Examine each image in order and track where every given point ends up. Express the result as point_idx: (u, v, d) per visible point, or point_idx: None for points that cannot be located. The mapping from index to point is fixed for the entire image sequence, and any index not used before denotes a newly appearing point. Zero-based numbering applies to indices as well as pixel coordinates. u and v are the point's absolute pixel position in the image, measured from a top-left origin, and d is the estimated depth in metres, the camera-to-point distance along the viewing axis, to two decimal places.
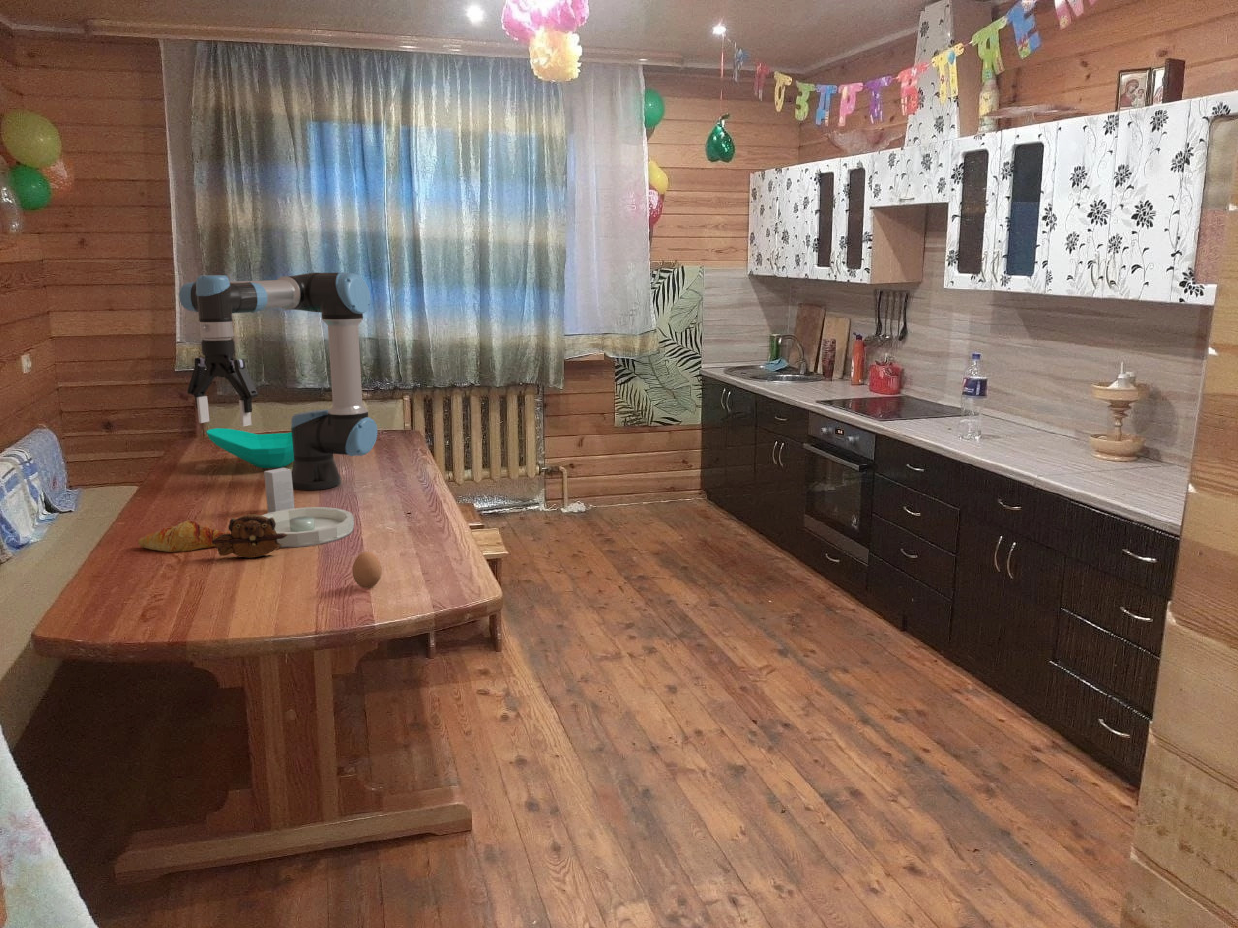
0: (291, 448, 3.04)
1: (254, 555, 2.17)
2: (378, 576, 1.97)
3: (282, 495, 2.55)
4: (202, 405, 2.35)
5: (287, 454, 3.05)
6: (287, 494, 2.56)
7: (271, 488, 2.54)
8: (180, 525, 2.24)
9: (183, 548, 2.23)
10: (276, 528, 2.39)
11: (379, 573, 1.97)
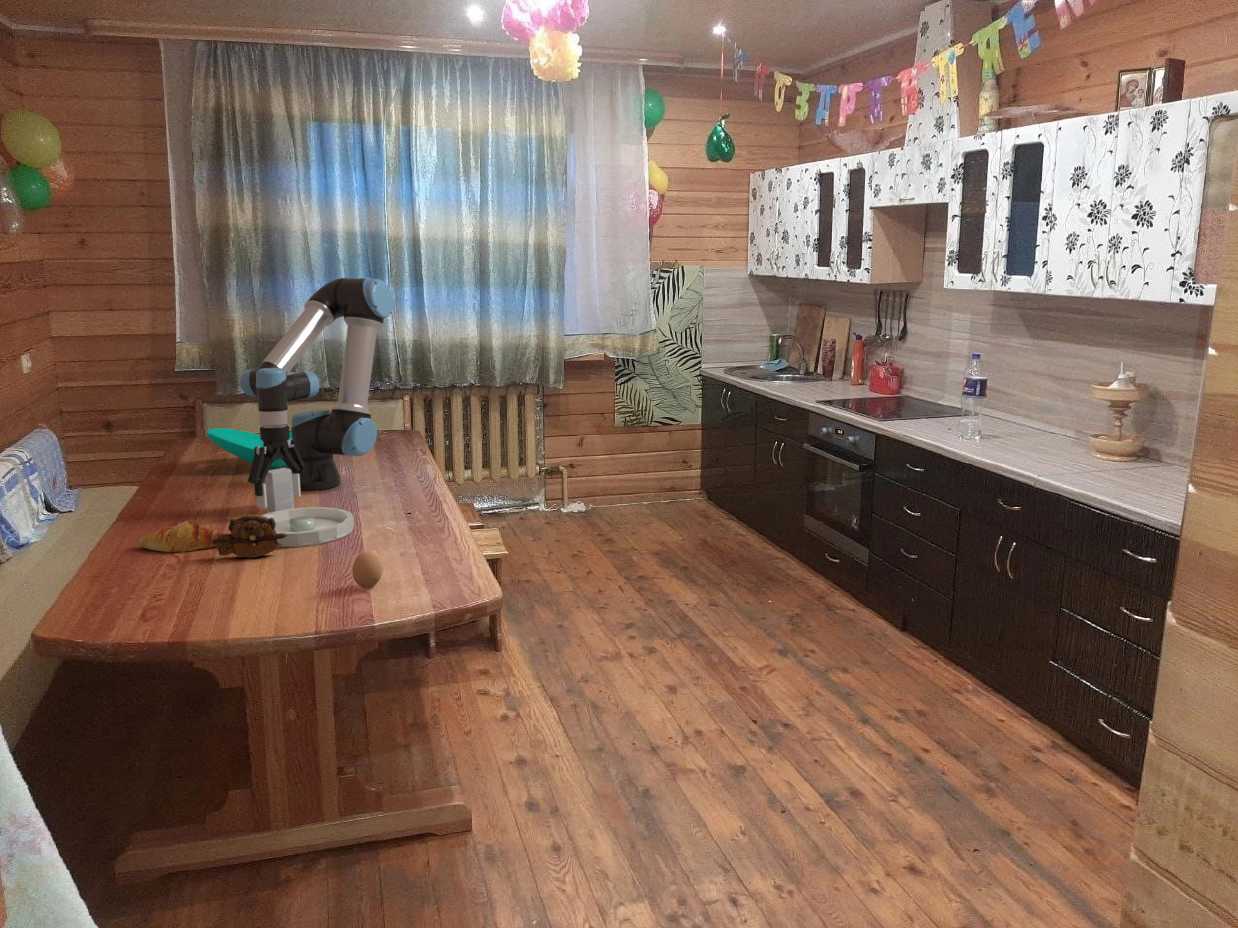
0: None
1: (254, 555, 2.17)
2: (378, 576, 1.97)
3: (282, 495, 2.55)
4: (292, 481, 2.62)
5: None
6: (287, 494, 2.56)
7: (271, 488, 2.54)
8: (179, 525, 2.23)
9: (182, 548, 2.22)
10: (276, 528, 2.39)
11: (379, 573, 1.97)
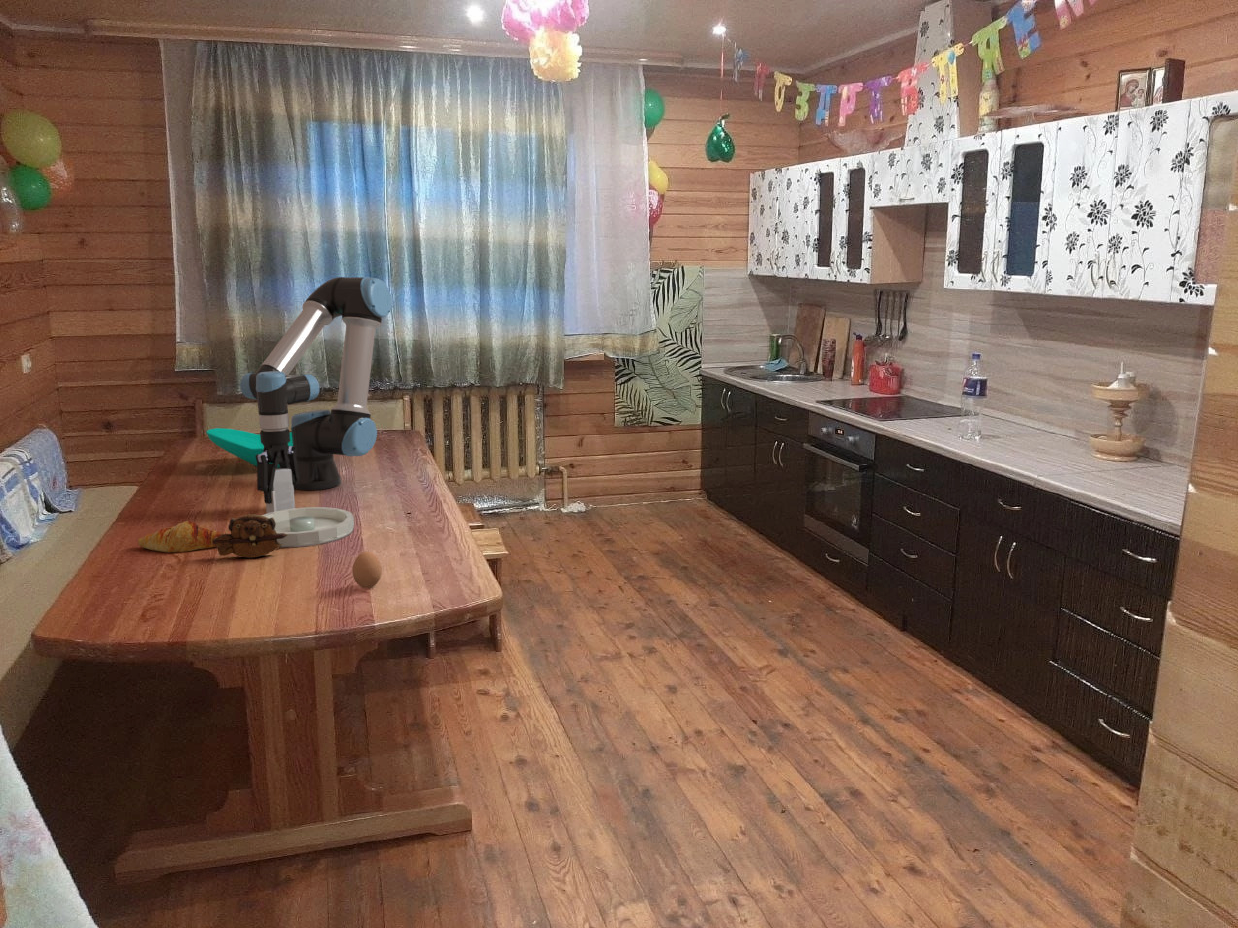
0: None
1: (254, 555, 2.17)
2: (378, 576, 1.97)
3: (282, 495, 2.55)
4: None
5: None
6: (287, 494, 2.56)
7: None
8: (178, 525, 2.23)
9: (181, 549, 2.22)
10: (276, 528, 2.39)
11: (379, 573, 1.97)
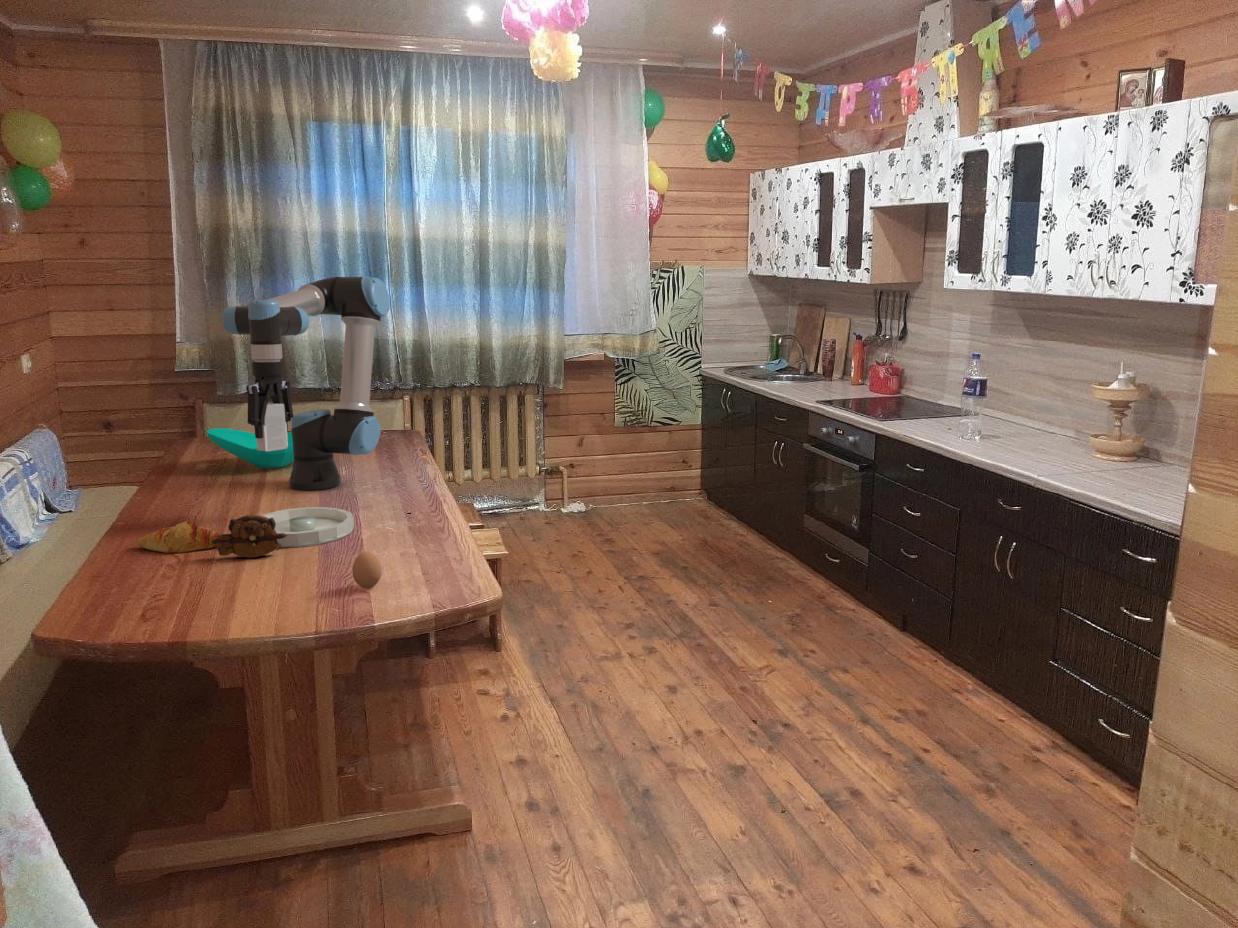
0: (291, 448, 3.04)
1: (254, 555, 2.17)
2: (378, 576, 1.97)
3: (273, 430, 2.43)
4: None
5: (287, 454, 3.05)
6: (279, 430, 2.44)
7: None
8: (177, 526, 2.23)
9: (179, 549, 2.22)
10: (276, 528, 2.39)
11: (379, 573, 1.97)
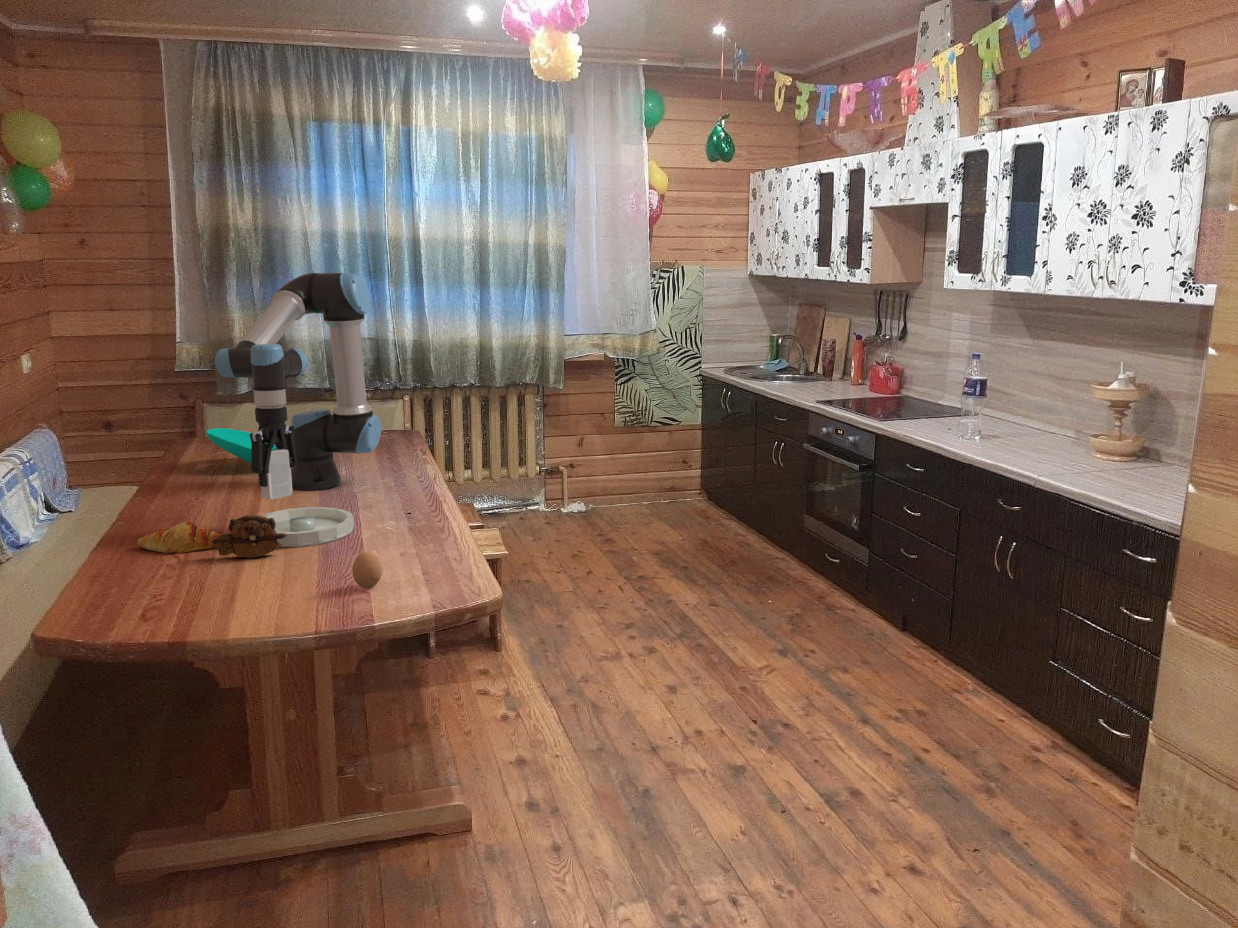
0: None
1: (254, 555, 2.17)
2: (378, 576, 1.97)
3: (278, 477, 2.36)
4: None
5: None
6: (284, 477, 2.37)
7: None
8: (177, 526, 2.23)
9: (178, 549, 2.22)
10: (276, 528, 2.39)
11: (379, 573, 1.97)
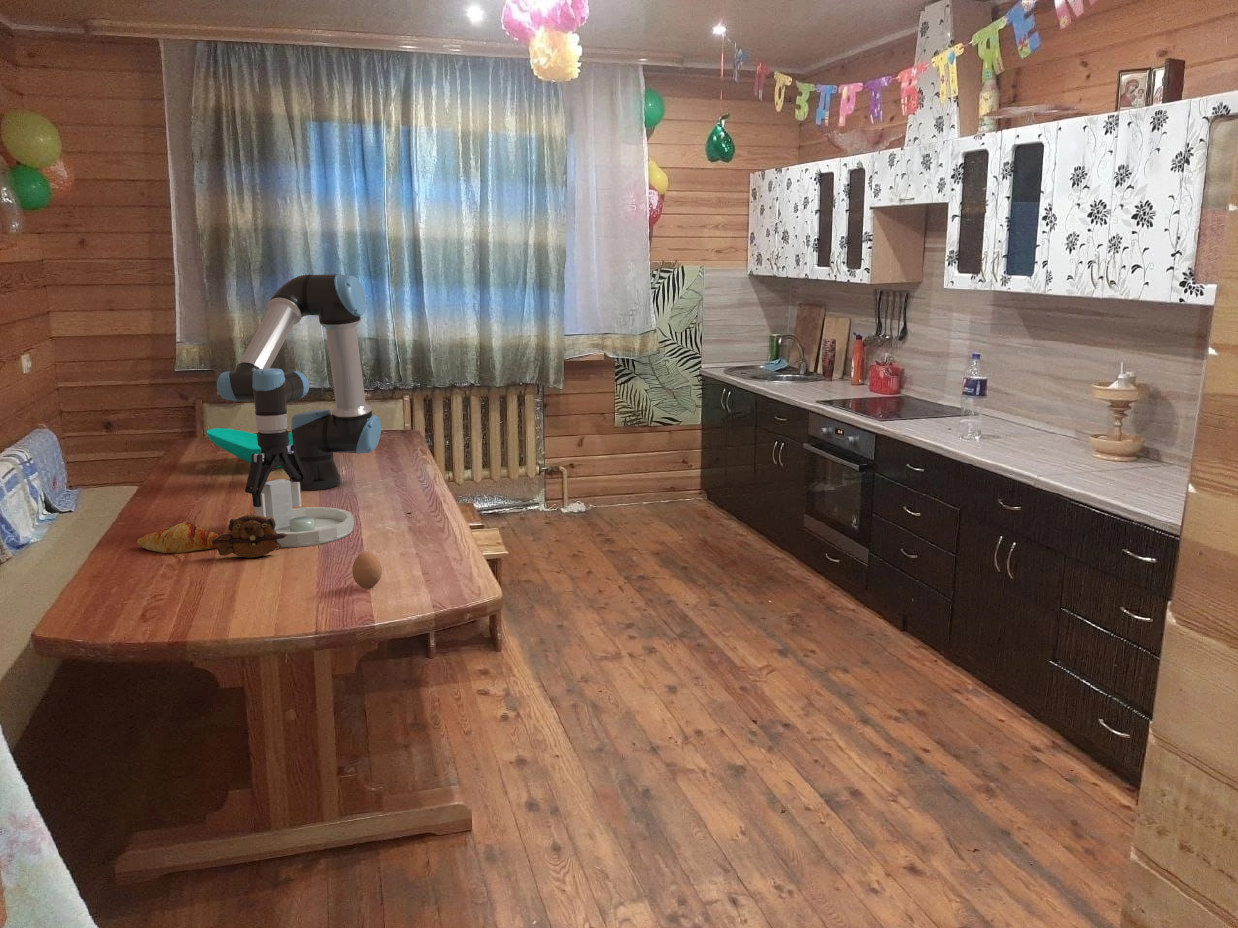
0: None
1: (254, 555, 2.17)
2: (378, 576, 1.97)
3: (280, 508, 2.37)
4: (292, 490, 2.45)
5: None
6: (286, 508, 2.39)
7: (268, 501, 2.36)
8: (176, 526, 2.23)
9: (177, 550, 2.21)
10: None
11: (379, 573, 1.97)
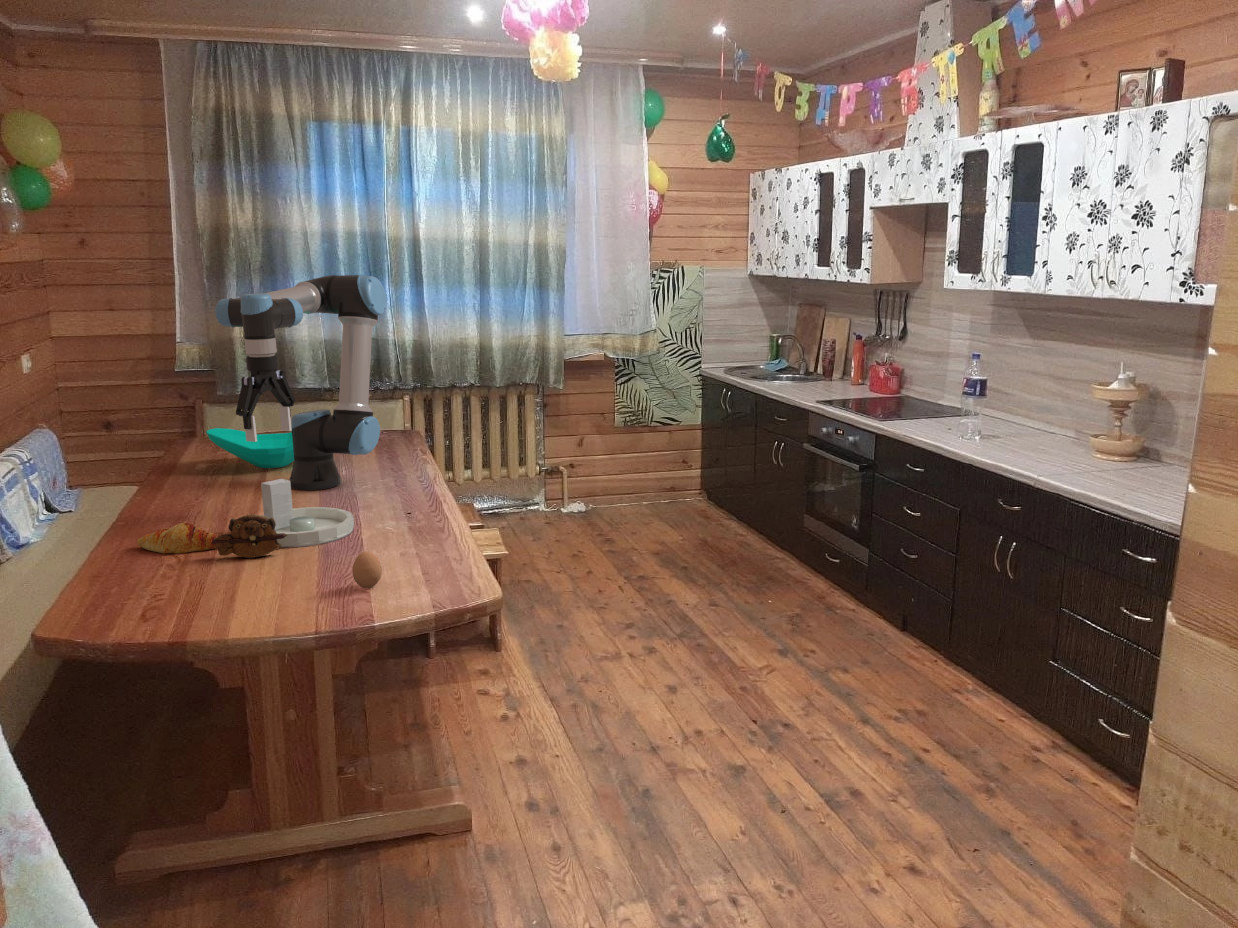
0: (291, 448, 3.04)
1: (254, 555, 2.17)
2: (378, 576, 1.97)
3: (280, 508, 2.37)
4: (282, 414, 2.49)
5: (287, 454, 3.05)
6: (286, 508, 2.39)
7: (268, 501, 2.36)
8: (175, 527, 2.22)
9: (176, 550, 2.21)
10: None
11: (379, 573, 1.97)
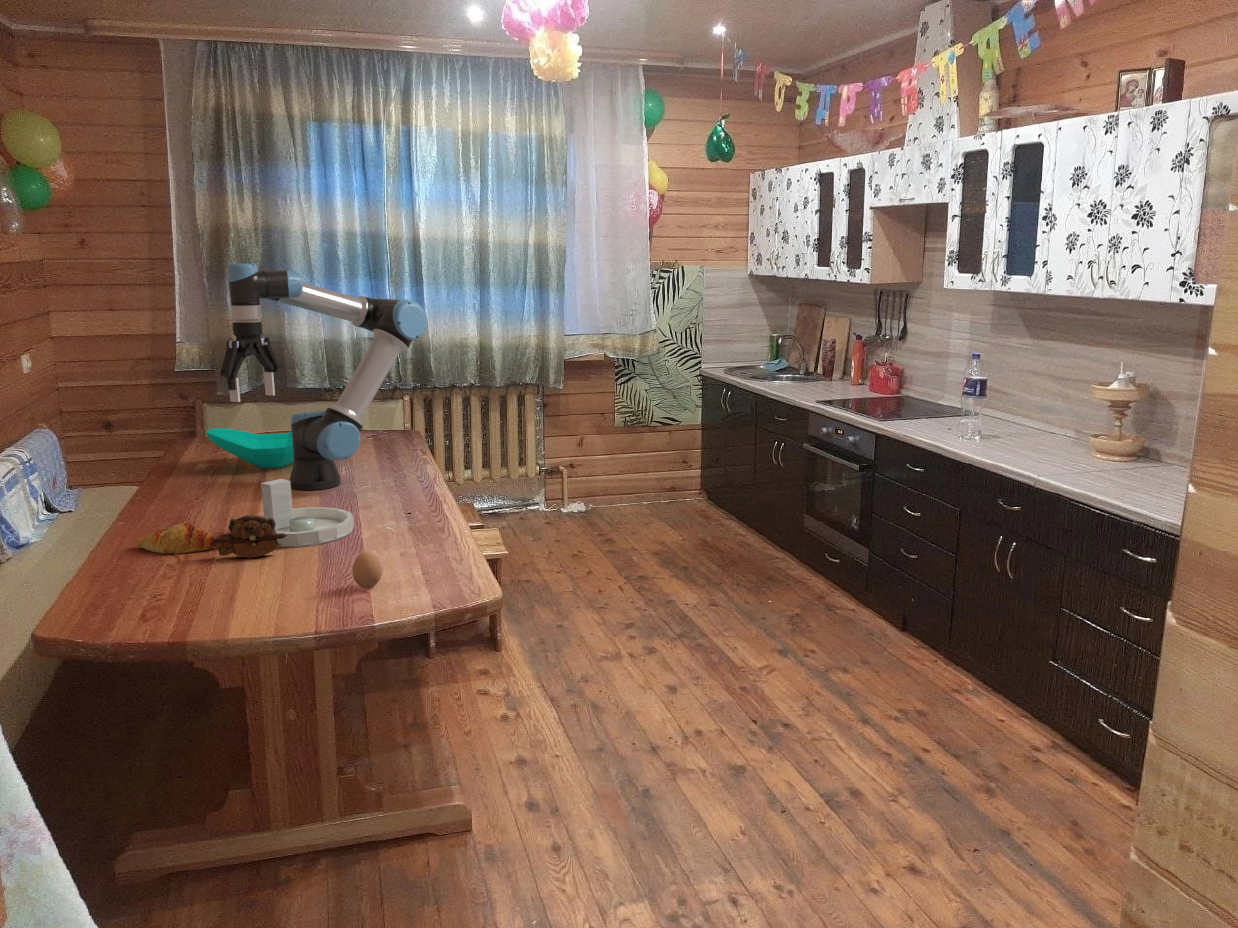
0: (291, 448, 3.04)
1: (254, 555, 2.17)
2: (378, 576, 1.97)
3: (280, 508, 2.37)
4: (266, 379, 2.64)
5: (287, 454, 3.05)
6: (286, 508, 2.39)
7: (268, 501, 2.36)
8: (174, 527, 2.22)
9: (175, 550, 2.21)
10: None
11: (379, 573, 1.97)
